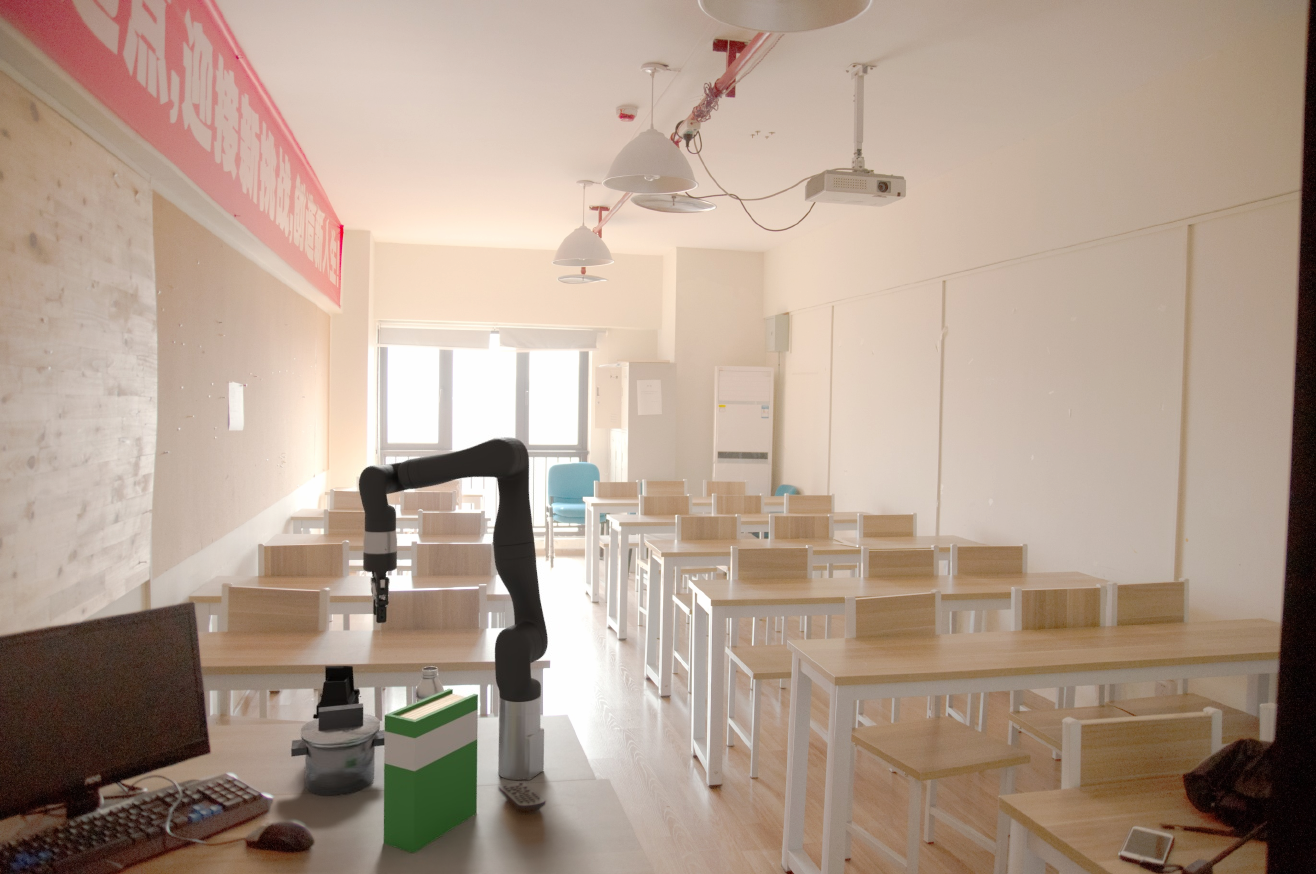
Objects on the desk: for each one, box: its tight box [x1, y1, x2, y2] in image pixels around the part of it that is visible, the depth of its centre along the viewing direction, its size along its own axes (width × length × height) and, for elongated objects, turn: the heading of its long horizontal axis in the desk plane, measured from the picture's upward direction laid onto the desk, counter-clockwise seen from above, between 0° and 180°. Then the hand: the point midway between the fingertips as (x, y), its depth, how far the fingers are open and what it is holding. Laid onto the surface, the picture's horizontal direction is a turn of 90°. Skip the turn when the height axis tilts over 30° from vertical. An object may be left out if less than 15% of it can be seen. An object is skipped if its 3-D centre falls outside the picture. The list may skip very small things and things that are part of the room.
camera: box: [312, 665, 362, 720], centre depth 200 cm, size 10×14×20 cm
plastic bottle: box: [414, 666, 445, 702], centre depth 198 cm, size 6×7×20 cm
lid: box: [300, 703, 381, 746], centre depth 181 cm, size 16×16×5 cm
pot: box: [290, 729, 385, 797], centre depth 182 cm, size 19×15×11 cm
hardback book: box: [383, 688, 479, 854], centre depth 162 cm, size 18×7×24 cm, turn 153°
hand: (379, 618), depth 197 cm, fingers open, 8 cm apart
